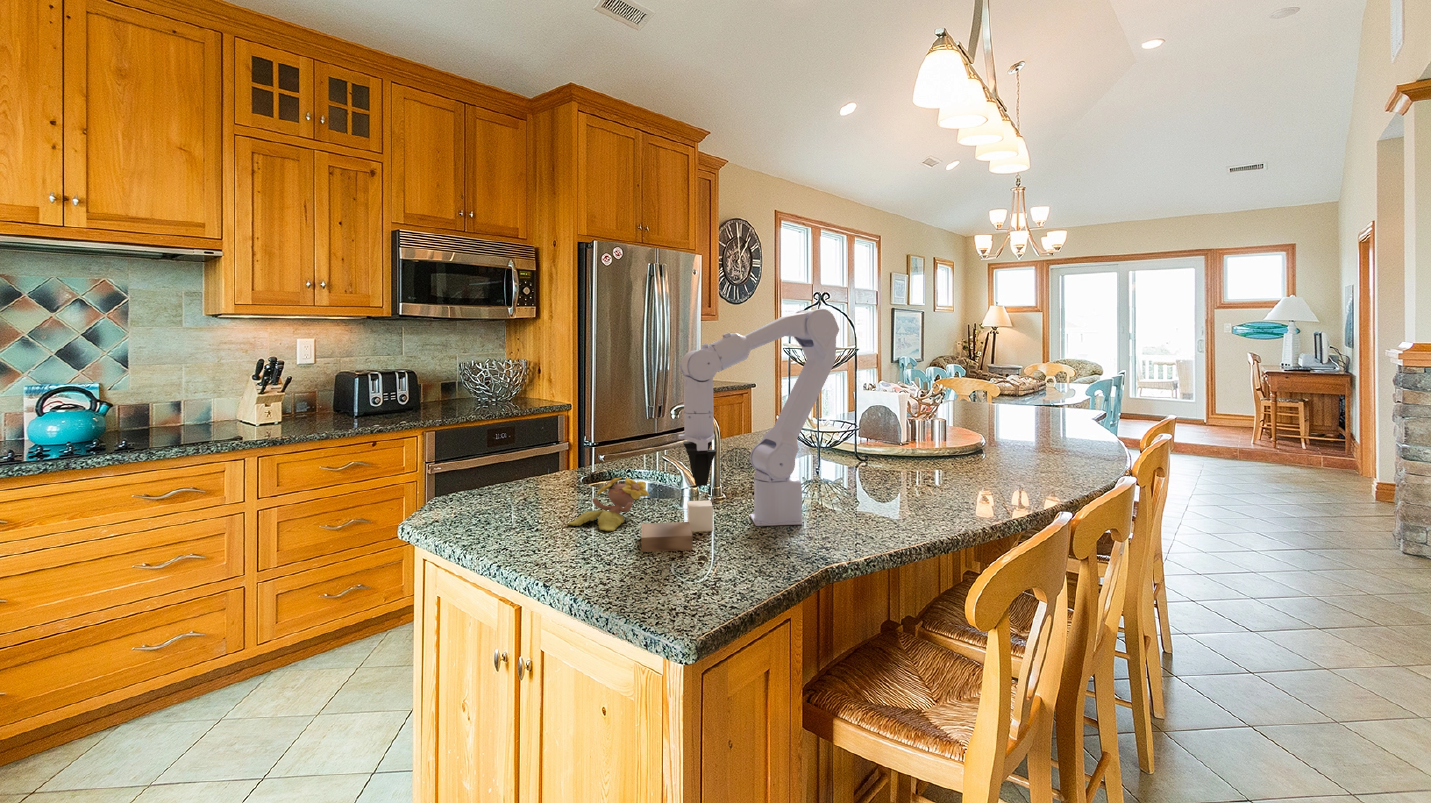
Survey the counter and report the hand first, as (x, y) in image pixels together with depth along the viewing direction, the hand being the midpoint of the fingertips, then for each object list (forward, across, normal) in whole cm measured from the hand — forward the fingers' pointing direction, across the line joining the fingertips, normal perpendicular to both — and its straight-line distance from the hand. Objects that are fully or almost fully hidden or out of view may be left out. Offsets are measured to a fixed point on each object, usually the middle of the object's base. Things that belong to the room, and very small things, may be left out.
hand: (699, 481), depth 135 cm
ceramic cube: (+10, 0, 0) cm, 10 cm away
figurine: (+10, -8, -18) cm, 22 cm away
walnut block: (+10, +9, -7) cm, 15 cm away
